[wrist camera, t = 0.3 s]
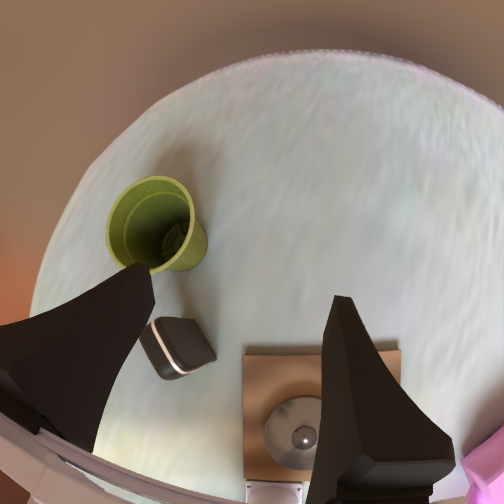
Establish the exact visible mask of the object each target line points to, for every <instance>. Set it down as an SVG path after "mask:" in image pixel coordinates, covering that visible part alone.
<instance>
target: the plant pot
mask: <svg viewBox="0 0 504 504" xmlns="http://www.w3.org/2000/svg"><path fill="white" fill-rule="evenodd" d="M187 227H189V230H188V229H187ZM174 228H175V231H174ZM170 235H172V238H171V240H170V243H169V245H167V240H168V238H169V236H170ZM182 243H183V245H182V246H181V244H182ZM106 244H107V248H108V251H109V254H110V256H111V257H112V259H113V260H114V262H115V263H116V264H117V265H118V266H119V267H120V268H121V269H124V268H126V267H128V266H129V265H131V264H133V263H135V262H138V263H144V264H149V268H150V274H154V273H157V272H160V271H162V270H172V271H186V270H189V269H191V268H193V267H195V266H197V265H198V264H199V263H200V262H201V261H202V259H203V258H204V256H205V254H206V251H207V237H206V234H205V232H204V230H203V228H202V226H201V225H200V223H199V221H198V219H197V218H196V216H195V210H194V204H193V201H192V198H191V196H190V194H189V192H188V190H187V189H186V188H185V187H184V186H183V185H182V184H181V183H180V182H179V181H177V180H175V179H173V178H171V177H168V176H162V175H158V176H149V177H146V178H143V179H141V180H139V181H137V182H135V183H133V184H132V185H130V186H129V187H128V188H127V189H126V190H125V191H123V192H122V194H121V195H120V196H119V197H118V199H117V200H116V202H115V203H114V205H113V207H112V208H111V211H110V213H109V216H108V219H107V224H106ZM167 257H168V258H167Z"/></svg>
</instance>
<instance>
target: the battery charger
mask: <svg viewBox="0 0 504 504" xmlns="http://www.w3.org/2000/svg"><path fill="white" fill-rule="evenodd" d="M139 340H140V342H141V345H142V347H143V348H144V350H145V352H146V354H147V356H148V358H149V360H150V362H151V363H152V365H153V367H154V369H155V370H156V372H157V374H158V375H159V376H160V377H161V378H162V379H164V380H175V379H178V378H181V377H183V376H186V375H188V374H189V373H191V372H194V371H196V370H198V369H200V368H202V367H204V366H207V365H209V364H212V363H214V361H215V360H216V359H217V357H216V356H215V354H214V352H213V351H212V349H211V347H210V346H209V344H208V342H207V341H206V339H205V337H204V336H203V334H202V332H201V330H200V329H199V327H198V325H197V324H196V322H195V320H194V319H183V318H177V317H159V318H155V319H154V320H152V322H151V323H149V324H148V325H146V326H145V328H144V329H143V331H142V333H141V334H140V336H139Z"/></svg>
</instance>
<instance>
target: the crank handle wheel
mask: <svg viewBox="0 0 504 504" xmlns="http://www.w3.org/2000/svg"><path fill="white" fill-rule="evenodd" d="M320 419H321V397H319V396H314V395H300V396H295V397H292V398H289V399H287V400H285V401H283V402H282V403H280V404H279V405H278V406H277V407H276V408H275V409H274V410H273V411H272V413H271V414H270V416H269V418H268V420H267V422H266V424H265V427H264V433H263V438H264V444H265V447H266V449H267V451H268V453H269V454H270V456H271V457H272V458H273V459H274V460H275V461H276V462H278V463H279V464H281V465H283V466H285V467H287V468H290V469H294V470H313V466H314V460H315V454H316V448H317V442H318V435H319V427H320Z"/></svg>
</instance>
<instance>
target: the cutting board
mask: <svg viewBox="0 0 504 504" xmlns="http://www.w3.org/2000/svg"><path fill="white" fill-rule="evenodd" d="M378 353H379V355H380V356H381V358H382V360H383V361H384V363H385V365H386V366H387V368H388V369H389V371H390V372H391V374H392V375H393V377H394V378H395V379H396V381H397V382H398V383H399V385H400V377H401V350H399V349H395V350H384V351H378ZM300 395H314V396H319V397H321V354H305V355H249V354H245V355H243V458H244V478H246V479H258V480H275V481H311V476H312V471H313V470H294V469H290V468H287V467H285V466H283V465H281V464H279V463H278V462H276V461H275V460H274V459H273V458H272V457H271V456H270V454H269V453H268V451H267V449H266V447H265V444H264V438H263V433H264V427H265V424H266V422H267V420H268V418H269V416H270V414H271V413H272V411H273V410H274V409H275V408H276V407H277V406H278V405H279V404H280V403H282V402H283V401H285V400H287V399H289V398H292V397H295V396H300Z"/></svg>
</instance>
